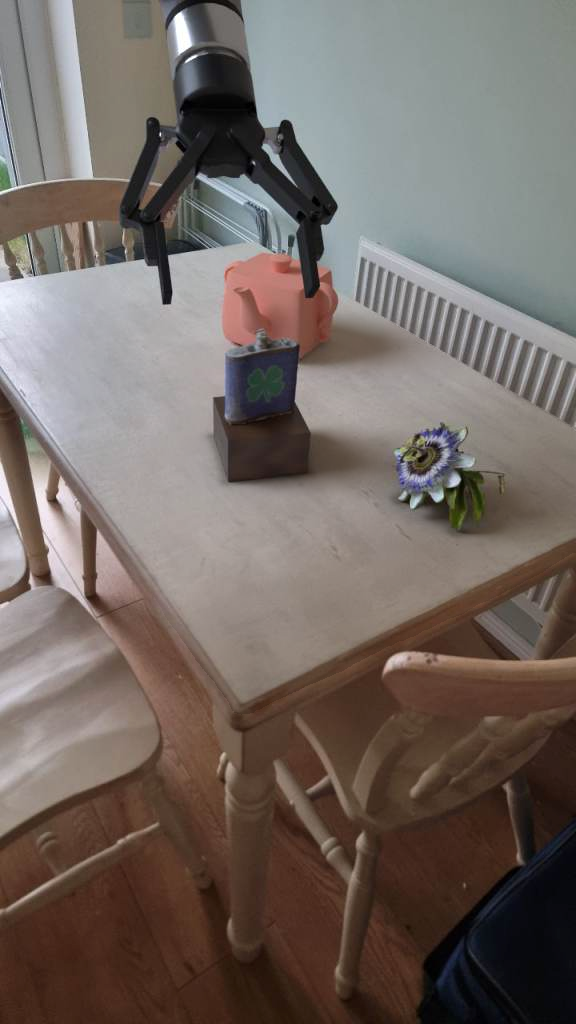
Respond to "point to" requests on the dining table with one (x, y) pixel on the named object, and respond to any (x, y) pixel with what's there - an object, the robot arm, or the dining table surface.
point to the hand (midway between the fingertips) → (242, 295)
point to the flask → (260, 379)
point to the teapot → (276, 302)
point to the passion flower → (441, 473)
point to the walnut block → (261, 444)
